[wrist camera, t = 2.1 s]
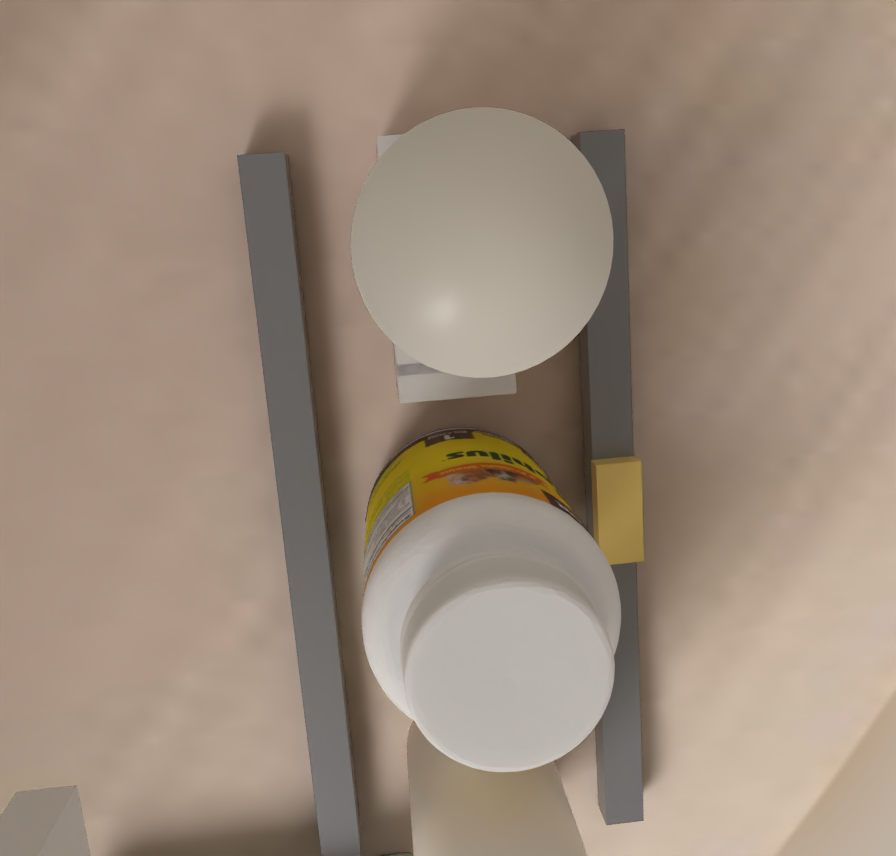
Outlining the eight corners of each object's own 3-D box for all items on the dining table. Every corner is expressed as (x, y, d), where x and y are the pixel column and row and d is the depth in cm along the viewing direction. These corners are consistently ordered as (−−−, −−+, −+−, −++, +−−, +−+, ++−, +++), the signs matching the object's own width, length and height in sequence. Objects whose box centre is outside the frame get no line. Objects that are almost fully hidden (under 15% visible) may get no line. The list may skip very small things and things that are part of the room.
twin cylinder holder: (635, 800, 28) (774, 1093, 18) (324, 838, 27) (296, 1163, 18) (615, 133, 24) (785, 54, 14) (242, 158, 23) (147, 93, 13)
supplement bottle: (585, 481, 26) (719, 629, 16) (485, 629, 26) (553, 861, 17) (429, 385, 25) (467, 479, 15) (329, 542, 25) (302, 733, 16)
